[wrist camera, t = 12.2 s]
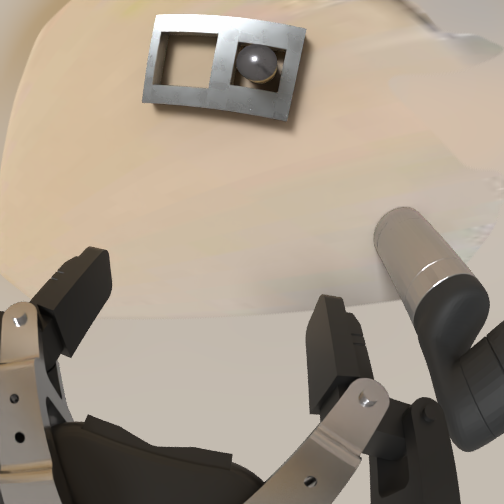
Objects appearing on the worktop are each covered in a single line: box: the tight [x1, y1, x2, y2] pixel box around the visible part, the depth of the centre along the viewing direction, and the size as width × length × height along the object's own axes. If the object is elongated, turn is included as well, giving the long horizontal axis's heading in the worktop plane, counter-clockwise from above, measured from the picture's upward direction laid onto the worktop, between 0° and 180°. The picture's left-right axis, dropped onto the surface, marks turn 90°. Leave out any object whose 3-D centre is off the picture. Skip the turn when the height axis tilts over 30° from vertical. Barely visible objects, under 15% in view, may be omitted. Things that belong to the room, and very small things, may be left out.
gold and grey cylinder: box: [236, 44, 277, 84], centre depth 28 cm, size 4×4×8 cm
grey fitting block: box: [142, 15, 306, 121], centre depth 30 cm, size 18×12×3 cm, turn 80°
